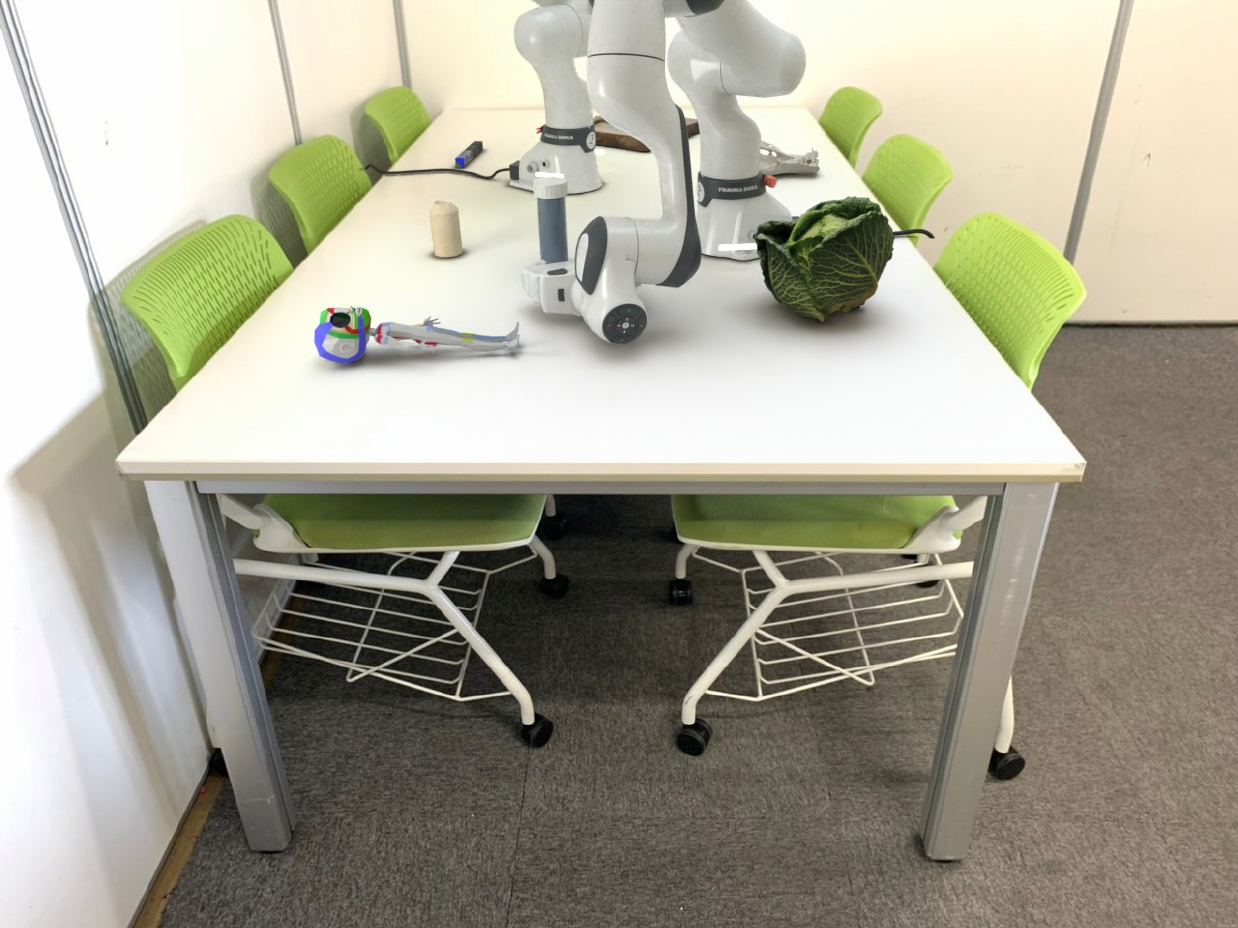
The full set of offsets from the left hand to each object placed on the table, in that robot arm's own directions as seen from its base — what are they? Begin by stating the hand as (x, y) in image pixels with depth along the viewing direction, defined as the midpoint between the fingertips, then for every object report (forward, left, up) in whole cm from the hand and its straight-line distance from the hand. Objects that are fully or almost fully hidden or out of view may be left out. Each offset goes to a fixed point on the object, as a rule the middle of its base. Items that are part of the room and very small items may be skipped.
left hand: (626, 38), depth 165 cm
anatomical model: (+8, +56, -36) cm, 67 cm away
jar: (-2, -24, -36) cm, 44 cm away
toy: (+2, -66, -36) cm, 75 cm away
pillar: (-68, +34, -36) cm, 85 cm away
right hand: (+7, -32, -31) cm, 45 cm away
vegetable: (+49, -21, -36) cm, 64 cm away
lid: (-2, -24, -21) cm, 32 cm away
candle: (-24, -28, -36) cm, 52 cm away
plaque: (-43, +77, -36) cm, 96 cm away
